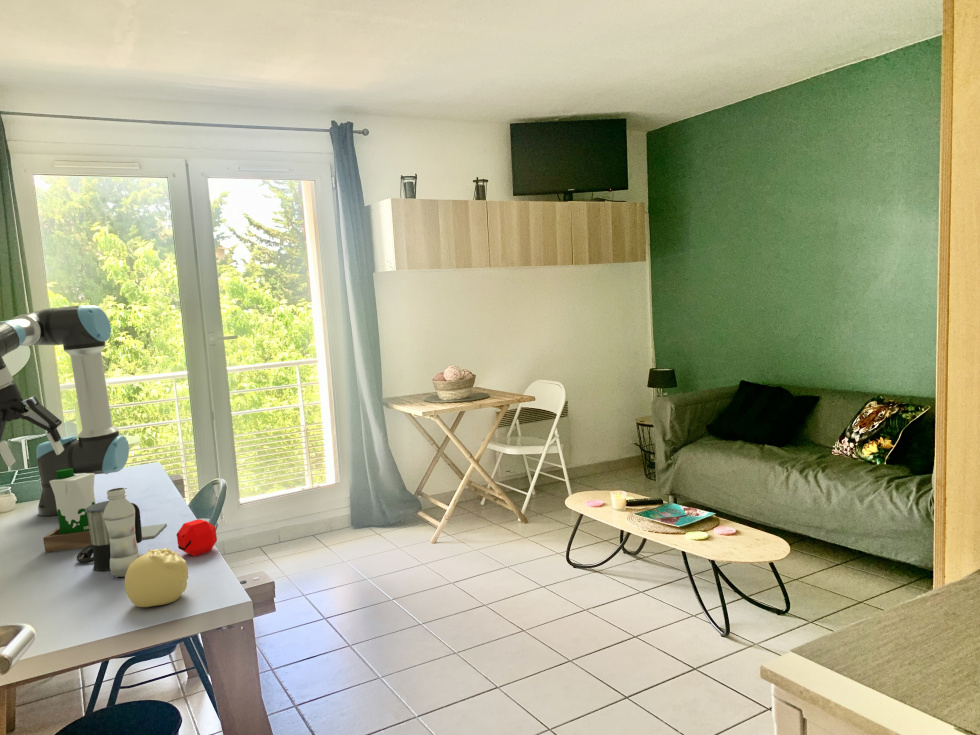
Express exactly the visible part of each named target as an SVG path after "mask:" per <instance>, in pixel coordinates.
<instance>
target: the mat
mask: <svg viewBox="0 0 980 735" xmlns="http://www.w3.org/2000/svg"><path fill="white" fill-rule="evenodd" d="M167 525H168V524H167V523H162V524H154V525H153V524H151V525H145V526H141V531H142V540H147V539H155V538H156V537H157V536H158V535H160V533H161V532H162V531H163V530H164V529H165V528H166V527H167Z"/></svg>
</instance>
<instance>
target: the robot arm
mask: <svg viewBox="0 0 980 735" xmlns="http://www.w3.org/2000/svg"><path fill="white" fill-rule="evenodd" d="M111 334H112V327H111V323H110V319H109V317H108V316H107V314H106V312H104V310H103V309H102V308H101V307H99V306H97V305H94V304H87V305H86V304H85V305H84V304H81V305H75V306H63V307H52V308H51V307H49V308H46V309H45V308H44V309H40V310H37V311H32V312H29V313H24V314H19V315H17V316H14V317H13V318H11V319H7V320H3V321H2V320H1V321H0V456H1V458H2V459H3V461H4V463H5V465H6V466H7V468H8V467H11V466H12V465H14V464H15V463H16V462H17V461H16V459H15V457H14V455H13V454H12V452H11V450H10V448H9V446H8V444H7V442H6V440H5V439H4V440H3V438H2V437H3V435H4V431H5V427H6V424H7V422H11V421H15V420H19V419H22V420H26V421H28V422H30V423H31V424H33V425H35V426H37V427H38V428H41V429H43V430H44V431H46V432H45V436H46V437H47V440H48V441H45V442H42V443H41V442H40V443H39V444H38V445H37V446H36V449H35V450H36V451H35V452H36V453H35V454H36V461H37V466H38V474H39V480H40V487H41V493H40V497H39V500H38V507H37V510H38V515H39V516H42V517H52V516H53V517H54V516H58V513H57V507H56V500H55V495H54V492H53V490H52V487H51V485H50V482H49V481H51V480H53V479H56V478H57V474H56V471H57V470H60V469H65V468H73V472H74V474H80V473H87V474H88V473H95V475H103V474H104V475H108V474H113V473H118V472H120V471H121V470H123V469H124V467H126V464H127V462H128V458H129V455H130V454H129V453H130V445H129V441H128V440H127V437H126V436H125V435H121V434H120V432H119V428H117V427H115V426H114V425H113V420H112V415H111V409H110V402H109V396H108V394H109V393H108V388H107V382H106V375H105V369H104V362H103V357H102V351H103V350H104V348H106V342H107V341H108V340H109V339H110V338H111ZM62 345H63V346H62ZM20 346H21V347H30V346H62V347H63V351H64V353H67V354H68V355H69V356H70V360H71V366H72V367H71V368H72V372H73V373H72V375H73V380H74V386H75V387H74V388H75V392H76V398H77V405H78V411H79V418H80V424H81V428H82V429H81V431H80V432H79V433H78V435H76V434H75V435H68V436H63V437H62V436H61V435H60V433H59V430H58V427H60V425H62V423H63V422H62V420H61V419H60V418H59V417H57V416H56V415H55V414H54V413H52V412H51V411H50V410H48V409H47V408H46V407H45V406H43V404H41V402H39V400H38V399H37V397H36V396H34V395H32V396H31V397H29V398H26V399H24V398H22V394H21V391H20V389H19V388H18V385H17V383H16V382H14V381H13V380H14V378H13V376H12V374H11V372H10V370H9V368H8V365H6V363H5V361H4V358H3V357H4V356H5V355H8V354H10V353H11V352H13V351H15V350H16V349H18V348H19V347H20Z"/></svg>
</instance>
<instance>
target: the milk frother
mask: <svg viewBox="0 0 980 735" xmlns="http://www.w3.org/2000/svg"><path fill="white" fill-rule="evenodd" d="M108 503H109V500H105V501H102V502H97V503H96V504H93V505H91V506H89V507H87V508H86V509H85V511H87V516H88V523H89V530H90V536H91V542H92V544H91V545H89V546H87V547H86V548H82V550H80V551H79V552H78V553H77V554H76V560H77V562H79V563H81V564H85V563H86V564H88V563H93V570H95V571H99V572H101V571H103V572H104V571H105V572H106V571H111V570H110V541H109V536H108V531H107V527H106V524H105V521H104V517H103V514H104V510H105V508H106V506H107V504H108ZM130 503H131V504H132V505H133V506H134V508H135V535H136V542H137V544H140V543H141V542H143V539H142V531H141V527H142V521H141V519H142V518H141V512H140V511H141V510H140V508H139V506H138V505H137V503H134V502H130ZM92 555H93V556H92Z"/></svg>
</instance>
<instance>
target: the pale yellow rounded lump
mask: <svg viewBox="0 0 980 735" xmlns="http://www.w3.org/2000/svg"><path fill="white" fill-rule="evenodd" d="M188 579H189V566H188V565H187V561H186V560H185V559H184V558H183V557H182V556H180V555H179V553H178V552H176V551H173V550H171V549H170V548H169V547H167V548H165V547H164V548H162V549H161V548H160V549H158V548H155V549H148V551H147V552H145V553H144V554H143V555H140V557H139V558H137V559H136V560H135V561H134V562H133V563H132V564H131V565H130V566H129V568H128V570H127V572H126V576H124V590H125V593H126V594H125V595H126V596H127V598H128V600H129V601H130V602H131V603H132V604H133V605H134V606H136V607H139V608H149V607H156V606H157V607H158V606H162V605H168V604H171V603H174V602H176V601H177V600H178V599H179V598H180V597H181V595H182V594H183V593H184V592H185V590H186V589H187V586H188Z"/></svg>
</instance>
